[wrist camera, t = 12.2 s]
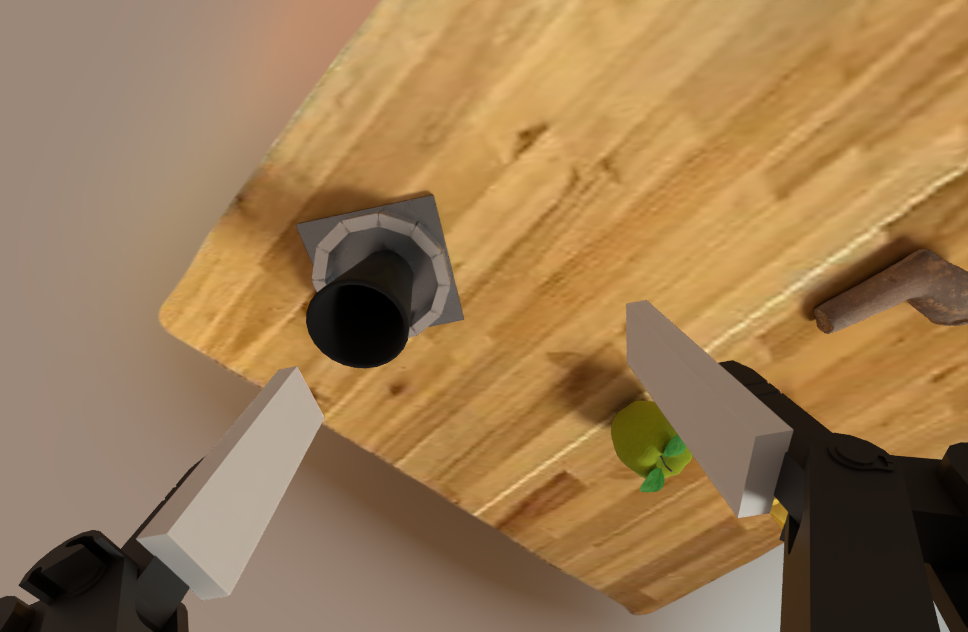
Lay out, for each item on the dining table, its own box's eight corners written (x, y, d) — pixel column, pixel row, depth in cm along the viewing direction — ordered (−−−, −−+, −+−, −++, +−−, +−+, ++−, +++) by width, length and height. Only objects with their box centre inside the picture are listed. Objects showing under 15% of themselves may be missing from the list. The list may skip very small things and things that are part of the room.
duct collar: (297, 223, 35) (285, 229, 32) (433, 194, 34) (431, 198, 32) (348, 341, 41) (341, 353, 38) (463, 317, 41) (464, 328, 38)
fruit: (588, 429, 50) (617, 491, 41) (623, 378, 46) (663, 434, 37) (640, 444, 52) (679, 506, 43) (677, 397, 48) (728, 453, 39)
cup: (338, 251, 36) (286, 294, 25) (409, 232, 35) (387, 267, 25) (367, 315, 39) (332, 378, 28) (432, 298, 39) (422, 356, 28)
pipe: (837, 319, 39) (867, 384, 41) (1004, 229, 35) (1025, 306, 38) (791, 303, 45) (819, 360, 47) (929, 225, 41) (952, 291, 44)
